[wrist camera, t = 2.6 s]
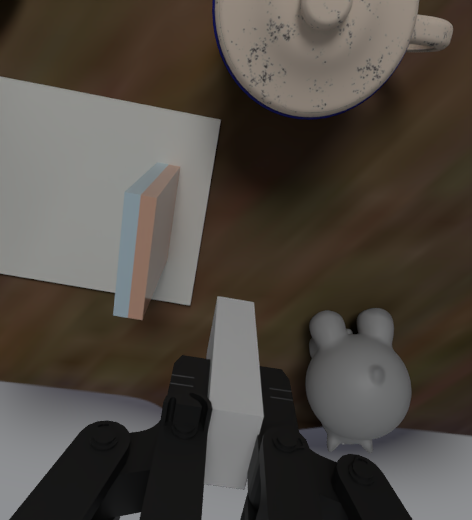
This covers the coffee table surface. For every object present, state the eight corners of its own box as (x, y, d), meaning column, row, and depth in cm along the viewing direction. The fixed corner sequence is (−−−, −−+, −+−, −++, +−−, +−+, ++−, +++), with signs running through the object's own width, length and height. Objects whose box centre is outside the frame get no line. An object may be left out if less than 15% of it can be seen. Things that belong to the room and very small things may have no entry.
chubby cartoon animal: (291, 383, 40) (298, 480, 34) (305, 298, 32) (318, 407, 26) (369, 384, 40) (391, 482, 34) (403, 300, 32) (440, 409, 26)
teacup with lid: (214, 102, 29) (199, 112, 18) (227, -63, 25) (218, -175, 14) (392, 122, 29) (484, 143, 18) (429, -38, 26) (568, -130, 15)
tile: (180, 166, 30) (157, 197, 21) (167, 259, 32) (142, 320, 24) (157, 162, 30) (124, 191, 21) (146, 255, 32) (113, 315, 24)
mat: (221, 119, 29) (220, 120, 28) (190, 302, 34) (190, 305, 34) (-54, 65, 28) (-59, 65, 27) (-43, 263, 33) (-47, 265, 33)
